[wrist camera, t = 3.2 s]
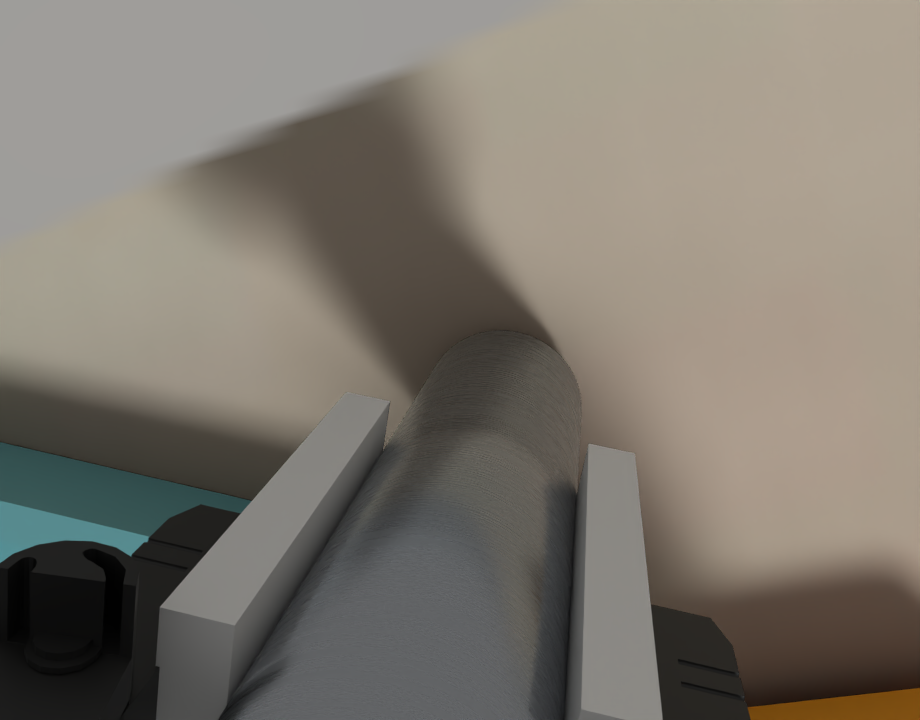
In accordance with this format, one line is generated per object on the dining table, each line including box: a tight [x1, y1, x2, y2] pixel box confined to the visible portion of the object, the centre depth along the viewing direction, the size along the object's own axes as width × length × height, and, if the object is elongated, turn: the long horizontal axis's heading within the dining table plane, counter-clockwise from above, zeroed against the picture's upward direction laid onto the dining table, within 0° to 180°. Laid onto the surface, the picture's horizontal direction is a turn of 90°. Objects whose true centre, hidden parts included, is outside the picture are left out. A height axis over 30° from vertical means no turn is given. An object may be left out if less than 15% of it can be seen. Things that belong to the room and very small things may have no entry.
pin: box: [218, 330, 582, 720], centre depth 12 cm, size 3×3×14 cm
